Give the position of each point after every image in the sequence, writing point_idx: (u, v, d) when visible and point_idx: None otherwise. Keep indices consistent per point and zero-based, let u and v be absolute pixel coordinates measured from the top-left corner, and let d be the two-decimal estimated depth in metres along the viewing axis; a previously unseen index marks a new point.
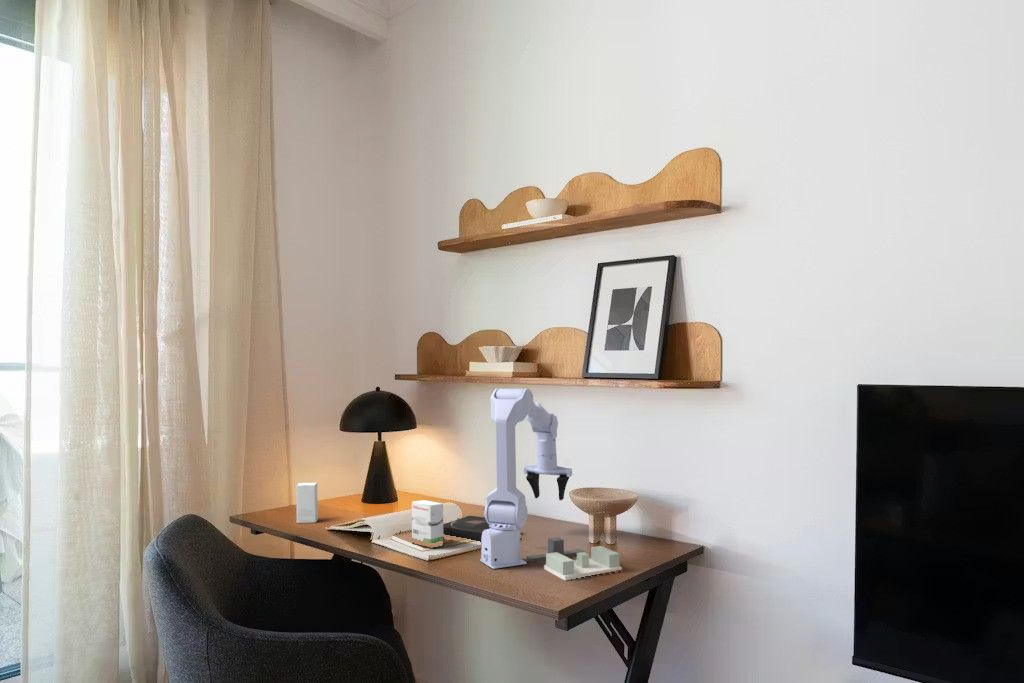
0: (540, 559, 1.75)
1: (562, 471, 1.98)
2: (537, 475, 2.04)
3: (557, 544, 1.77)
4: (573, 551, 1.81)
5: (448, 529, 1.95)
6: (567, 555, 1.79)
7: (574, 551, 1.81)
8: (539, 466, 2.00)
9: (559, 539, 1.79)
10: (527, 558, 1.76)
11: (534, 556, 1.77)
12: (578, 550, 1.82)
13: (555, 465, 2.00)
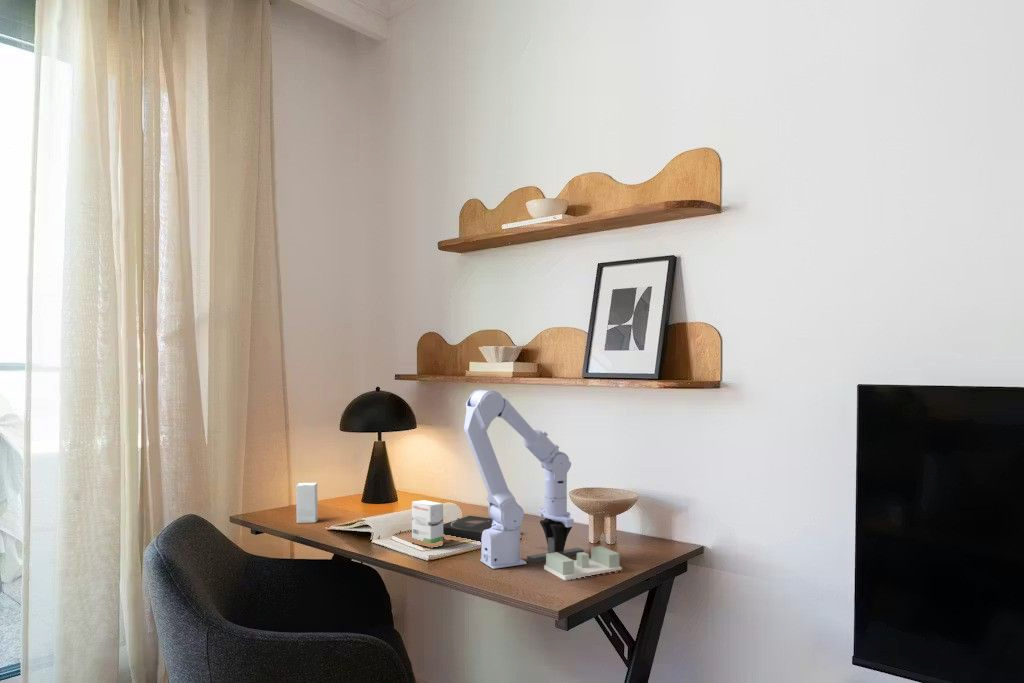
0: (541, 558, 1.75)
1: (561, 519, 1.74)
2: (555, 522, 1.81)
3: None
4: (572, 550, 1.81)
5: (448, 529, 1.95)
6: (567, 554, 1.79)
7: (573, 550, 1.81)
8: None
9: None
10: (528, 558, 1.75)
11: (534, 555, 1.76)
12: (576, 549, 1.82)
13: (559, 511, 1.76)
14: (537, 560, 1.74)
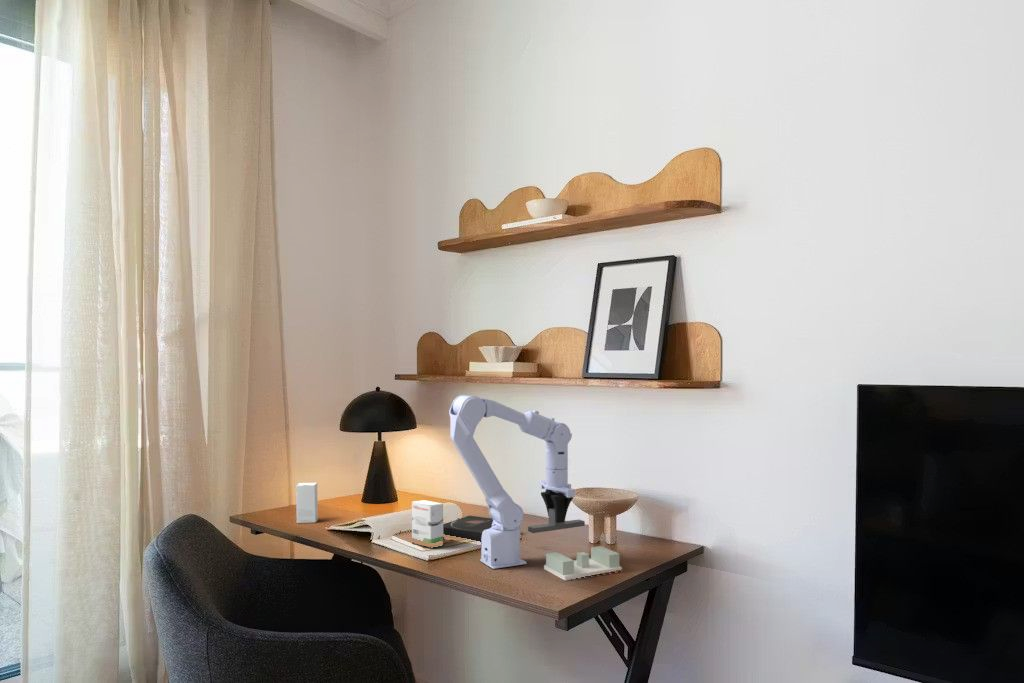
0: (542, 529, 1.75)
1: (562, 489, 1.74)
2: (556, 494, 1.81)
3: None
4: (573, 521, 1.81)
5: (448, 529, 1.95)
6: (568, 525, 1.79)
7: (574, 521, 1.81)
8: None
9: None
10: (529, 528, 1.75)
11: (535, 526, 1.76)
12: (578, 520, 1.82)
13: (560, 482, 1.76)
14: (538, 530, 1.74)
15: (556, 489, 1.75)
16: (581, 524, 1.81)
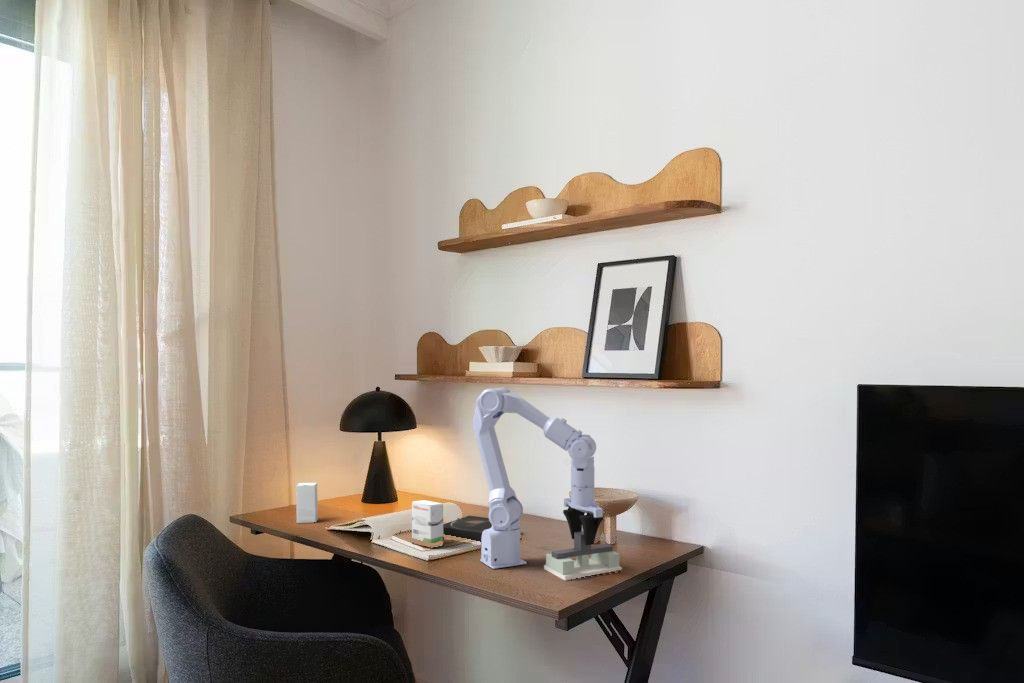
0: (566, 554, 1.64)
1: (589, 509, 1.62)
2: (579, 512, 1.71)
3: None
4: (601, 546, 1.70)
5: (448, 529, 1.95)
6: (595, 550, 1.67)
7: (602, 546, 1.70)
8: (571, 498, 1.68)
9: None
10: (552, 553, 1.64)
11: (559, 551, 1.65)
12: (605, 545, 1.70)
13: (586, 501, 1.65)
14: (562, 556, 1.63)
15: (582, 508, 1.64)
16: (609, 549, 1.69)
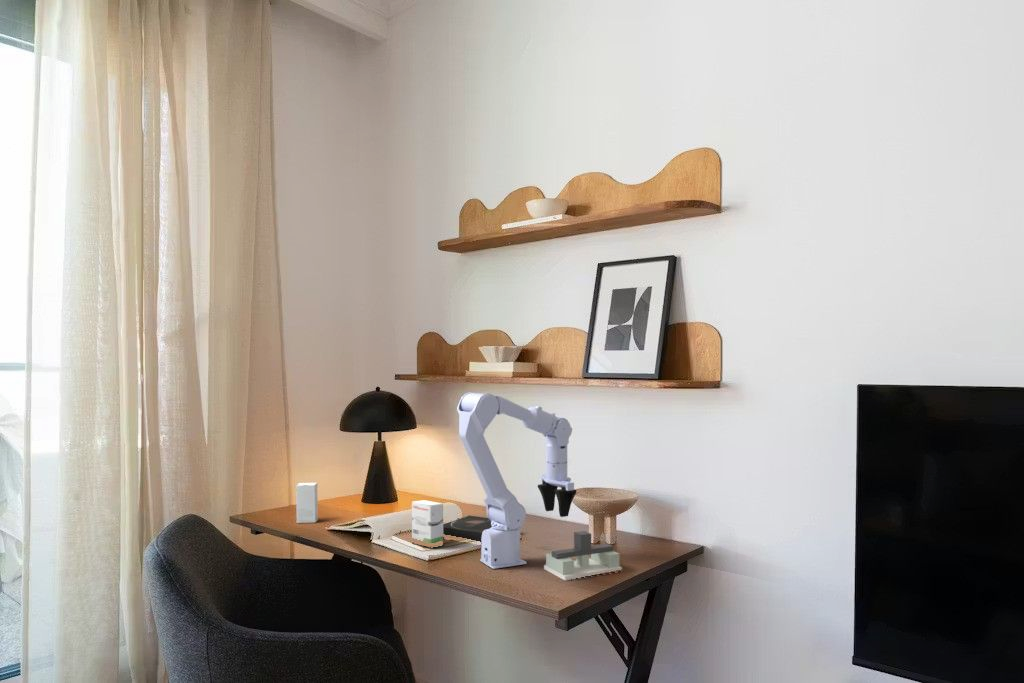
0: (566, 554, 1.64)
1: (562, 483, 1.78)
2: (552, 486, 1.87)
3: (584, 538, 1.66)
4: (601, 546, 1.70)
5: (448, 529, 1.95)
6: (595, 550, 1.67)
7: (602, 546, 1.70)
8: None
9: (586, 533, 1.67)
10: (552, 553, 1.64)
11: (559, 551, 1.65)
12: (605, 545, 1.70)
13: (560, 476, 1.80)
14: (562, 556, 1.63)
15: (556, 482, 1.79)
16: (609, 549, 1.69)
